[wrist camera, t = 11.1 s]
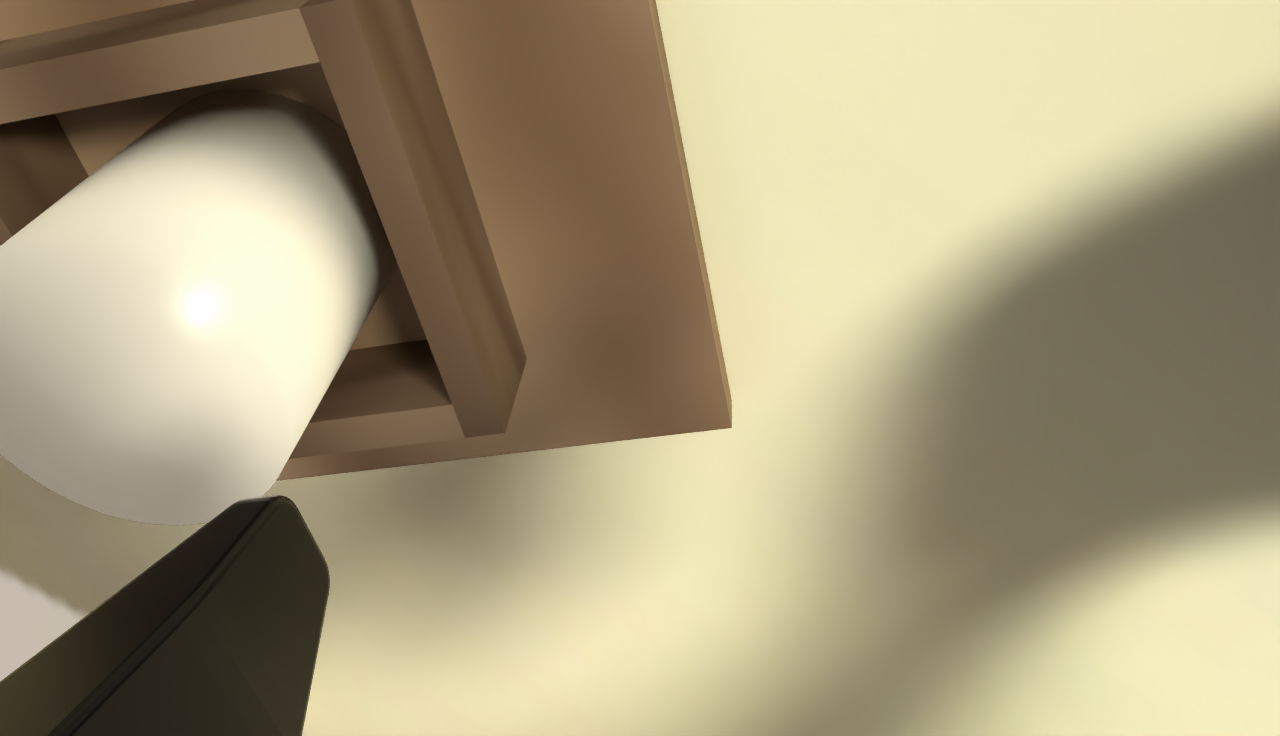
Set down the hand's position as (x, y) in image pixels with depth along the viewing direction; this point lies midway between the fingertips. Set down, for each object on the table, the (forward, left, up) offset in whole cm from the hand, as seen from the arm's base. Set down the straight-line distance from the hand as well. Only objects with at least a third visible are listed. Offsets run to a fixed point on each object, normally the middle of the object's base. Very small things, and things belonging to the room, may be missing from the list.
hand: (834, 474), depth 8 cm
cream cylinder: (+10, +2, -11) cm, 15 cm away
